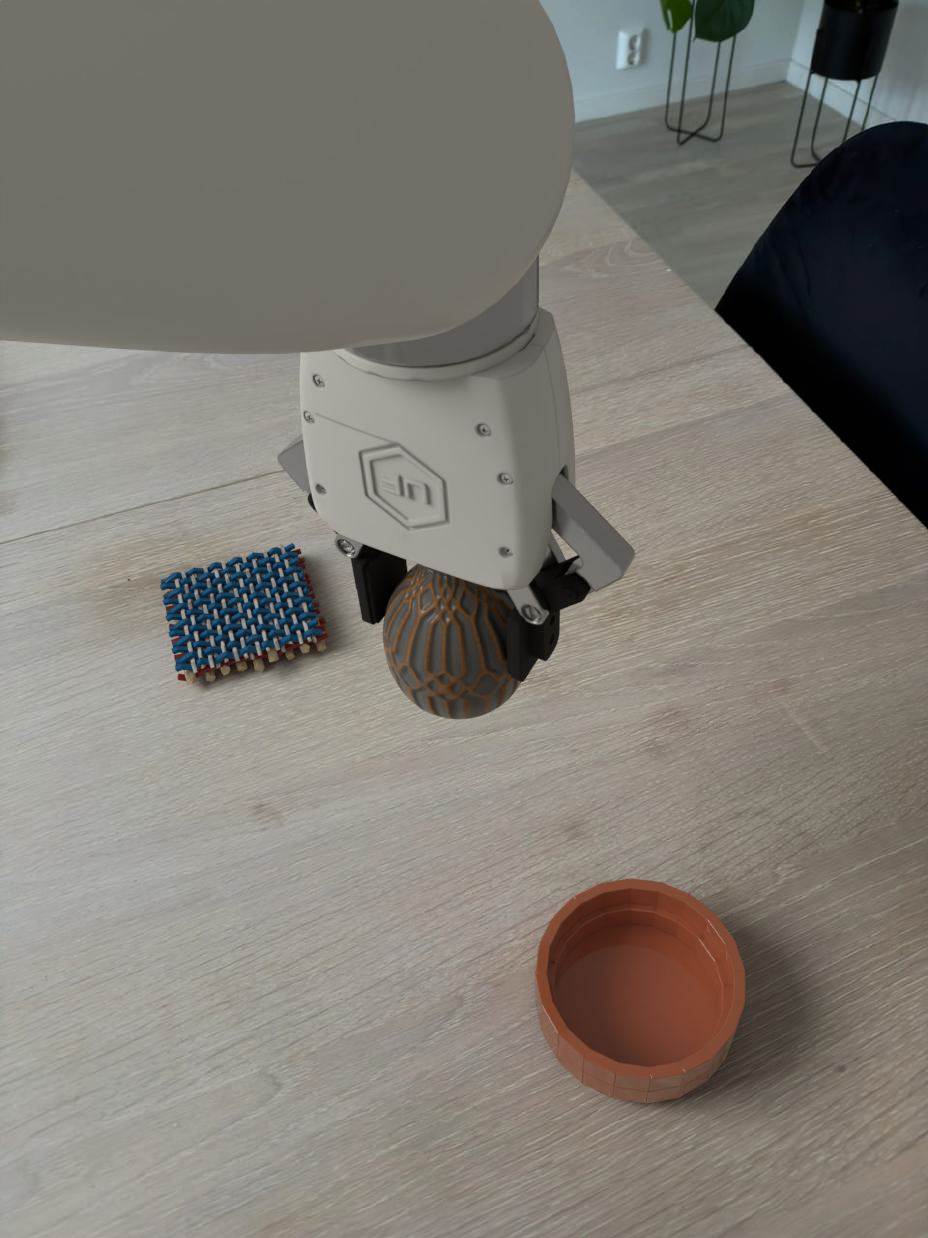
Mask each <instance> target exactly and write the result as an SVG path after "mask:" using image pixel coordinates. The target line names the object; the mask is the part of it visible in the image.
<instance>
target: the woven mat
mask: <svg viewBox="0 0 928 1238" xmlns="http://www.w3.org/2000/svg"><path fill="white" fill-rule="evenodd" d="M302 554H303V553H302V551H301V548H297V549H296V545H295V544H294V543H293V542H291V543H290V544H288V545H286V546H284V544H281V543H280V544H279V547H278V546H274V547H271V548H270V549H269V550H268V551H267V550H266V548H263V549H262V552H254V551H253V550H251V551H249V555H247V556H246V555H245V553H243V554H242V555H241V556H235V557H233V558H231V559H230V560H228V561H226V560H220V562H218V561H214V562H212V563H210V565H204V564H203V566H202V567H192V568H191V569H189V570H188V571H186V570H181V571H175V572H172V573H171V574H170V575H168V576H167V577H165V578H163V579H160V584H159V587H160V590H161V591H162V592H163V591H165V590H168V591H166V592H165V593H164V594H163V595H162V604H163V605H164V608H165V612H166V615H165V621H167V622H168V623H169V622H171V621H174V623H169V624H168V630H169V631H168V636H169V638H171V644H172V645H171V647H172V648H171V652H172V654H173V659H174V662H175V663H174V670H175V671H176V672H181V671H183V673H178V674H177V681H181V682H186V684H187V685H193V684H195V683H197V682H198V679H199V678H200V677H201V676H202V675H203V674H204V678H205V682H210V683H213V682H214V681H215V680H216V679H217V677H216V674H215V670H218V669H219V670H220V672H221V674H222V676H227V675H229V674H230V672H231V670H232V669H231V666H230V665H234V664H235V666H236V670H237V672H245V671H246V670H248V664H247V662H248V661H252V664H253V668H254V671H256V672H263V671H264V670H265V664H264V660H263V659H267V660H268V662H269V663H274V662H277V661H279V660H280V658H279V657H281V656H282V655H283V654H284V655H285V658H286V659H287V660H288V661H292V660H293V659H294V658H296V655H295V651H294V649H297V648H299V650H300V652H301V653H302V654H307V653H309V652H310V651H311V650H310V649H311V647H310V644H313V643H314V644H315V647H316V651H317V652H321V653H323V652H325V651H326V650H327V645H326V641H325V640H327V639H329V635H328V632H327V631H326V625H325V624H326V623H327V622H326V619H325V617H323V616H321V617H320V618H319V617H318V615H321V610H320V608H319V607H320V606H321V604H320V602H318V601H315V602H314V601H313V600H315V599H316V594H315V592H313V591H314V588H313V585H312V580H311V576H310V574H309V573H306V572H305V573H304V571H303V570H306V569H307V566H306V563H305V562H306V560H305V558H304V557H300V555H302ZM174 637H175V638H174ZM172 638H173V639H172ZM196 650H197V651H196ZM231 650H232V651H231ZM265 650H266V651H265Z"/></svg>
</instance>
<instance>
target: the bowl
mask: <svg viewBox="0 0 928 1238" xmlns="http://www.w3.org/2000/svg"><path fill="white" fill-rule="evenodd" d="M746 979H747V978H746V968H745V965H744V962H743V959H742V956H741V953H740V950H739V947H738V944H737V942H736V939H735V938H734V936H733V935H732V934H731V932H730V931H729V930H728V929H727V927H726V926H725V925H724V923H723V922H722V920H721V919H720V917H719V916H718V915H717V914H716V913H715V912H714V911H712V910H711V909H710V908H709V907H708V906H706V905H705V904H704V903H702V902H701V901H700V900H698V899H697V898H696V896H693V895H692V894H691V893H688V892H687V891H684V890H681V889H680V888H677V887H674V886H672V885H670V884H668V883H664V882H663V881H655V880H648V879H640V878H624V879H618V880H612V881H611V880H610V881H605V882H601V883H598V884H595V885H593V886H592V887H590V888H587V889H585V890H583V891H581V892H580V893H577V894H575V895H574V896H573V897H571V898H570V899H569V900H568V901H567V902H566V903H565V904H564V905H563V906H562V907H561V908H560V909H559V910H558V911H557V912H556V913H555V914H554V915H553V916H552V918H551V919H550V921H549V923H548V925H547V927H546V929H545V931H544V932H543V935H542V937H541V938H540V941H539V944H538V949H537V955H536V963H535V971H534V988H535V989H534V990H535V991H534V993H535V997H534V998H535V1007H536V1012H537V1017H538V1022H539V1026H540V1031H541V1033H542V1035H543V1037H544V1039H545V1041H546V1042H547V1044H548V1046H549V1048H550V1049H551V1051H552V1053H553V1055H554V1057H555V1058H556V1060H557V1061H558V1063H559V1064H561V1065H562V1066H563V1067H564V1068H565V1069H566V1070H567V1071H568V1072H569V1073H570V1074H571V1075H572V1076H573V1077H574V1078H575V1079H576V1080H577V1081H579V1082H580V1083H581V1084H583V1085H585V1086H587V1087H588V1088H590V1089H593V1090H594V1091H597V1092H599V1093H601V1094H603V1095H605V1096H607V1097H609V1098H612V1099H614V1100H620V1101H625V1102H633V1103H639V1104H652V1103H658V1102H663V1101H670V1100H676V1099H678V1098H681V1097H683V1096H685V1095H686V1094H688V1093H690V1092H692V1091H693V1090H695V1089H697V1088H699V1087H700V1086H702V1085H704V1084H706V1083H707V1082H708V1081H709V1080H710V1079H711V1077H712V1076H713V1075H714V1074H715V1073H716V1072H717V1070H718V1069H719V1068H720V1067H721V1066H722V1064H723V1063H724V1062H725V1061H726V1059H727V1057H728V1054H729V1052H730V1049H731V1047H732V1044H733V1041H734V1038H735V1036H736V1032H737V1030H738V1027H739V1024H740V1021H741V1018H742V1015H743V1012H744V1009H745V1006H746V1002H747V1001H746V999H747V998H746V997H747V995H746V993H747V992H746V991H747V990H746V986H747V985H746Z"/></svg>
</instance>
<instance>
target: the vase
mask: <svg viewBox="0 0 928 1238" xmlns="http://www.w3.org/2000/svg"><path fill="white" fill-rule="evenodd" d="M514 607H515V605H514V603H513V601H512V599H511V598H510V596H509V594H508V592H507V590H501V589H494V588H490V587H486V586H482V585H479V584H476V583H473V582H470V581H467V580H464V579H461V578H458V577H455V576H452V575H449V574H446V573H443V572H440V571H437V570H434V569H431V568H429V567H426V566H423V565H420V564H417V563H415V565H413V567H411V568H410V569H409V570H408V572H407V573H406V574H405V575H404V576H403V577H402V579H401V580H400V581H399V582H398V584H397V585H396V587H395V589H394V591H393V593H392V594H391V597H390V599H389V602H388V605H387V608H386V612H385V616H384V618H383V625H382V642H383V650H384V654H385V655H384V656H385V660H386V663H387V666H388V670H389V672H390V674H391V676H392V678H393V679H394V681H395V683H396V685H397V687H398V688H399V689H400V691H402V693H403V694H404V696H405V697H406V698H407V699H408V700H409V701H411V702H412V703H413V704H414V705H415V706H416V707H418V708H419V709H421V710H423V711H424V712H426V713H428V714H430V715H433V716H436V717H439V718H443V719H450V720H469V719H474V718H479V717H482V716H485V715H487V714H489V713H491V712H494V711H495V710H497V709H499V708H501V706H503V705H504V704H505V703H507V702H508V700H510V699H511V698H512V697H513V695H514V694H515V692H516V691H517V690H518V689H519V687H520V686H521V684H522V682H520V681H518V680H515V679H513V678H511V674H509V673H508V655H507V625H506V623H507V619H508V616H509V614H510V613H511V612H512V610H513V609H514Z"/></svg>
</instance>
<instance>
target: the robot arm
mask: <svg viewBox="0 0 928 1238" xmlns="http://www.w3.org/2000/svg"><path fill="white" fill-rule="evenodd" d="M569 70H570V69H569V67H568V63H567V58H566V54H565V52H564V49H563V46H562V44H561V40H560V39H559V36H558V33H557V31H556V28H555V26H554V23H553V21H551V19H550V17H549V15H548V13H547V12H546V10H545V8H544V6H543V5H542V3H541V2H540V0H0V341H1V342H2V341H3V342H14V343H15V342H18V343H29V344H30V343H32V344H45V345H59V346H76V347H85V348H86V347H87V348H88V347H89V348H102V349H116V350H126V351H127V350H129V351H145V352H146V351H148V352H162V353H181V354H214V355H216V354H217V355H287V354H289V355H290V354H299V355H300V356H299V404H300V405H299V407H300V420H301V431H302V432H301V433H300V434H299V435H298V436H296V437H295V438H293V439H292V440H291V441H290V442H289V443H288V444H287V446H285V448H283V450H281V451H280V452H279V453H278V455H277V462H278V464H279V466H280V467H281V468H282V469H283V470H284V472H285V473H286V474H287V475H288V476H289V478H290V479H292V481H293V482H294V483H295V484H296V486H298V487H299V489H300V490H301V491H302V492H303V493H304V492H306V493H307V494H308V495H307V503H308V505H309V506H310V507H311V508H312V510H313V511H314V512H315V513H316V514H317V515H318V517H319V519H320V520H321V521H322V523H324V524H325V525H326V526H327V527H328V528H329V529H331V530H332V531H333V532H334V533H335V534H336V537H335V538H334V546H335V548H336V549H337V551H338V552H339V553H340V554H341V555H342V556H344V557H346V558H349V559H350V563H351V569H352V573H353V579H354V580H353V581H354V585H355V589H356V592H357V597H358V604H359V609H360V616H361V621H363V622H364V623H367V624H370V625H373V626H374V625H376V624H380V623H381V622H382V620H384V617H385V612H386V608H387V605H388V602H389V599H390V597H391V594H392V593H393V591H394V589H395V587H396V585H397V584H398V582H399V581H400V580H401V579H402V577H403V576H404V575H405V574H406V573H407V572H408V571H409V570H408V564H407V561H409V562H412V563H415V564H420V565H423V566H426V567H429V568H431V569H434V570H437V571H440V572H443V573H446V574H449V575H452V576H455V577H458V578H461V579H464V580H467V581H470V582H473V583H476V584H479V585H482V586H486V587H490V588H494V589H501V590H507V592H508V594H509V596H510V598H511V599H512V601H513V603H514V605H515V607H514V609H513V610H512V612H511V613H510V614H509V616H508V619H507V623H506V625H507V655H508V673H509V674H511V678H513V679H515V680H518V681H520V682H521V683H524V682H525V680H526V679H527V677H528V676H529V675H530V673H531V671H532V670H533V668H534V667H535V665H536V663H537V662H538V660H540V661H542V662H547V661H548V660H549V659H550V657H551V656H552V655H553V652H554V651H555V649H556V647H557V645H558V643H559V640H560V639H559V638H560V633H561V632H560V630H561V626H560V625H561V611H562V610H564V609H567V608H569V607H571V606H574V605H577V604H580V603H581V602H583V601H585V599H586V597H587V596H589V595H590V594H592V593H594V592H595V593H597V592H599V591H601V590H603V589H606V588H607V587H609V586H611V585H613V584H615V583H617V582H619V581H621V580H622V579H623V578H624V576H625V574H626V573H627V571H628V570H629V568H630V566H631V565H632V562H634V559H635V558H636V551H635V549H634V548H633V546H632V545H631V544H630V543H629V542H628V541H627V540H626V539H625V537H623V535H621V533H620V532H619V531H618V530H616V528H615V527H614V526H613V525H612V524H611V523H610V522H609V521H608V520H607V519H606V518H605V517H604V516H603V515H602V513H600V512H599V511H598V510H597V509H596V508H595V506H593V504H591V502H590V501H589V500H588V499H587V498H586V497H585V495H583V494H582V493H581V492H580V490H578V489H577V488H576V447H575V434H574V433H575V432H574V431H575V430H574V423H573V422H574V420H573V410H572V401H571V393H570V388H569V381H568V380H569V379H568V374H567V369H566V368H567V367H566V364H565V359H564V354H563V350H562V344H561V340H560V337H559V333H558V329H557V326H556V321H555V318H554V315H553V314H552V313H551V311H548V310H546V309H545V308H542V307H540V303H539V302H540V286H539V285H540V253H541V251H542V250H543V247H544V246H545V244H546V242H547V241H548V239H549V237H550V236H551V234H552V233H551V232H552V231H553V229H554V227H555V224H556V221H557V219H558V217H559V215H560V212H561V210H562V207H563V203H564V201H565V197H566V193H567V190H568V186H569V182H570V179H571V173H572V167H573V161H574V153H575V141H576V110H575V100H574V91H573V90H574V89H573V84H572V79H571V75H570V71H569ZM552 530H553V531H554V532H555V533H556V534H557V535H558V537H560V538H561V539H562V540H563V541H564V542H565V543H566V544H567V545H568V546H569V547H570V549H572V550H573V551H574V553H576V555H575V556H573V557H570V558H567V559H566V557H565V555H564V553H563V551H562V549H561V547H560V546H559V544H558V541H557V540H556V537H555V536H554V533H553V532H552Z"/></svg>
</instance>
